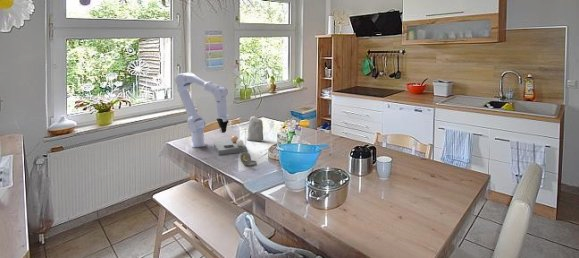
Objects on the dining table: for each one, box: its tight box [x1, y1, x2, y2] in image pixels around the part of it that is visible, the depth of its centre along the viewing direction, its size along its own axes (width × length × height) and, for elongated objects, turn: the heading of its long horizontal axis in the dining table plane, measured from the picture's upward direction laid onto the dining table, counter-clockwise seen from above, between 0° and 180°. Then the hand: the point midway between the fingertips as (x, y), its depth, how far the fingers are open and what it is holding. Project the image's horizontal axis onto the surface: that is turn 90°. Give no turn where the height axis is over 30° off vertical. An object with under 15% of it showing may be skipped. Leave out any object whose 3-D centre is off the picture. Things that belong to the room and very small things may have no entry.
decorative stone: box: [246, 115, 264, 142], centre depth 235 cm, size 11×6×15 cm, turn 58°
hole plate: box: [212, 140, 248, 156], centre depth 219 cm, size 17×16×2 cm
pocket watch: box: [239, 148, 257, 167], centre depth 191 cm, size 8×8×10 cm
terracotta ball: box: [230, 135, 239, 142], centre depth 223 cm, size 4×4×4 cm
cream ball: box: [236, 138, 244, 146], centre depth 215 cm, size 4×4×4 cm
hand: (223, 131), depth 217 cm, fingers closed on steel ball, 4 cm apart
